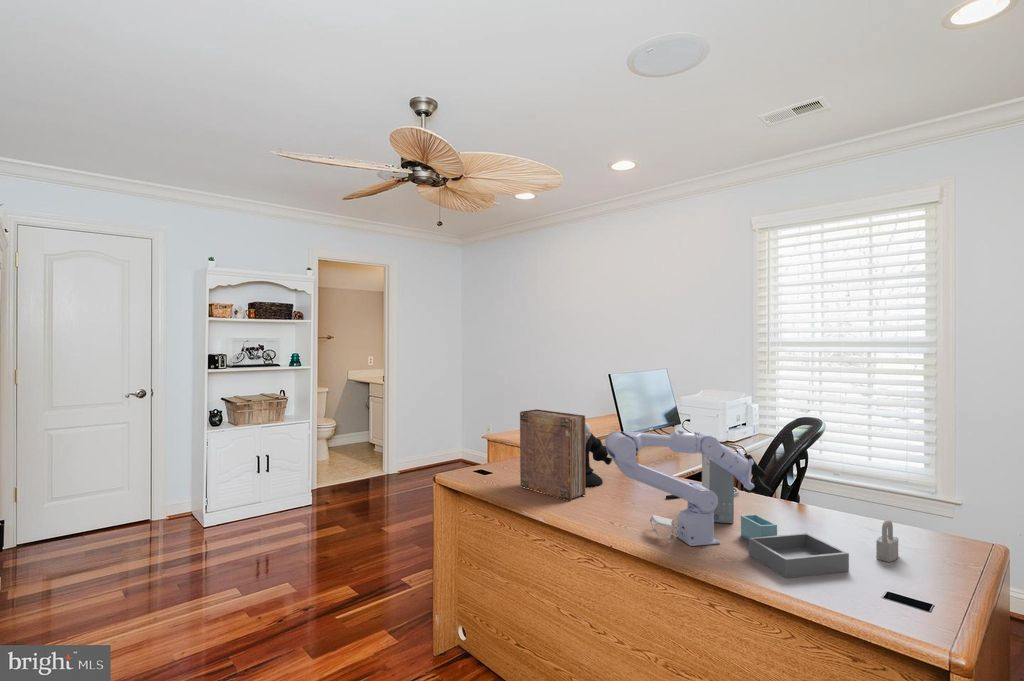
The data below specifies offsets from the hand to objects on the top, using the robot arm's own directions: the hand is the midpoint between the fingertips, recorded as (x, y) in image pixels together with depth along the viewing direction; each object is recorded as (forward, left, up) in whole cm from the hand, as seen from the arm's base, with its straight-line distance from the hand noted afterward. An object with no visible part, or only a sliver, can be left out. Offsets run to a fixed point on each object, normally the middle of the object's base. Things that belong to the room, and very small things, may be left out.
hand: (766, 484), depth 152 cm
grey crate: (-4, -17, -15) cm, 23 cm away
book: (-49, +57, -16) cm, 77 cm away
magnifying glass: (+5, +42, -16) cm, 45 cm away
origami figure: (-29, +8, -16) cm, 34 cm away
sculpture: (-29, +69, -16) cm, 77 cm away
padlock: (+22, -19, -16) cm, 33 cm away
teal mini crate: (-4, -2, -15) cm, 16 cm away
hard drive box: (-3, +20, -16) cm, 26 cm away
